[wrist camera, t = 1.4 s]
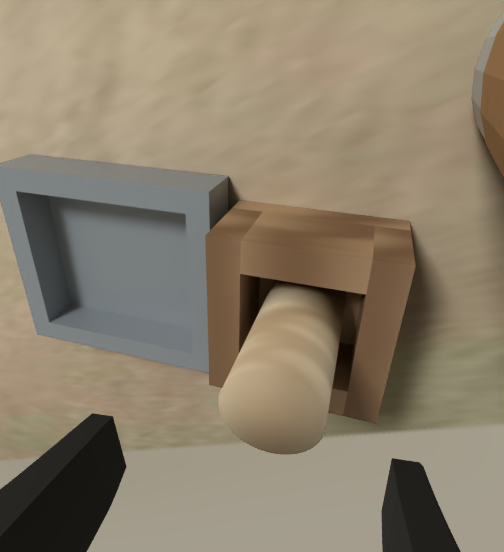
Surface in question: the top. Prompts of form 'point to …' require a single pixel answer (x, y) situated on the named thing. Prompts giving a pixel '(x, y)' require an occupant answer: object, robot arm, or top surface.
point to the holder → (316, 272)
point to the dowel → (286, 370)
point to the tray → (115, 253)
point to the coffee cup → (491, 92)
